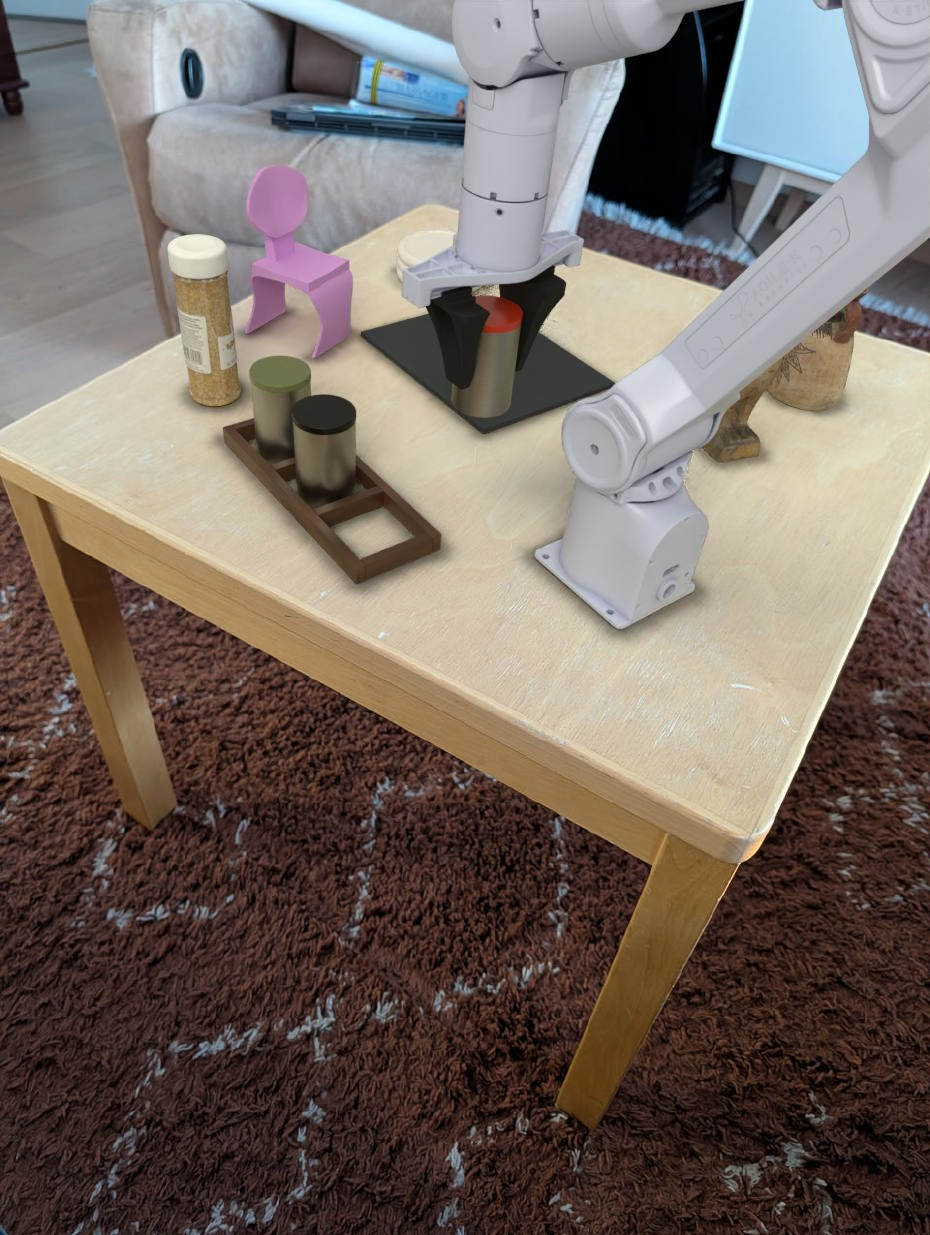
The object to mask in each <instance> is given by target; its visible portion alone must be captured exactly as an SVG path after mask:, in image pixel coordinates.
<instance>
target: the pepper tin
mask: <svg viewBox="0 0 930 1235" xmlns="http://www.w3.org/2000/svg"><path fill="white" fill-rule="evenodd" d="M292 420H293V430H294V448H295V465H296V478H295V480H296V493H297V494H298V495H299V496H300V497H301V498H302V499H303V500H304V501H305V502H306V504H307V505H308V506H309V507H310V508H311V509H312V510H313V509H316V508H318V507H321V506H324V505H327V504H329V503H332V502H335V501H338V500H340V499H343V498H346V497H349V496H351V495H354V494H357V480H356V455H357V437H356V436H357V435H356V434H357V409H356V407H355V405H354V403H353V402H351V401H350V400H349V399H346V398H345V397H342V396H340V395H336V394H330V393H329V394H328V393H327V394H326V393H320V394H319V393H318V394H313V395H312V394H311V396H308V397H305V398H302V399H301V400H299V401H298V402H296V403H295V404H294V406H293V408H292Z"/></svg>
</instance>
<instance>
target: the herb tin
mask: <svg viewBox="0 0 930 1235" xmlns="http://www.w3.org/2000/svg"><path fill="white" fill-rule="evenodd" d="M248 376H249V380H250V381H249V382H250V389H251V391H250V392H251V401H252V411H253V418H254V424H255V435H256V438H255V445H256V451H257V452H258V453H259V455H260V456H261V457H262V458H263V459H264V460H265V461H266V462H267V463H268V464H269V465H272V464H275V463H278V462H281V461H284V460H287V459H290V458H293V457H295V448H294V430H293V420H292V408H293V406H294V404H295V403H296V402H298V401H299V400H301V399H302V398H305V397H308V396H311V395H312V369H311V367H310V366H309V364H308V363H307V362H306V361H304V360H303V359H301V358H298V357H294V356H290V355H270V356H265V357H262V358H260V359H258V360H256V361H254V362H253V363H252V364H251V365H250V366H249V370H248Z"/></svg>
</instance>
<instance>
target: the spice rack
mask: <svg viewBox="0 0 930 1235" xmlns="http://www.w3.org/2000/svg"><path fill="white" fill-rule="evenodd" d="M222 436H223V441H224V444H225V445H226V446H227V447H228V448H229V449H230V450H231V451H232V452H233V453H234V455H235V456H237V457H238V459H239V460H240V461H241V462H242V463H243V464H244V465H245V466H246V467H247V468H248V469H249V470H250V472H252V474H253V475H254V476H255V477H256V478H257V479H258V480H259V481H260V483H261V484H262V485H263V486H264V487H265V488H266V489H267V490H268V491H269V492H270V493H271V494H272V495H273V496H274V497H275V498H276V500H277V501H278V502H279V503H280V504H281V505H282V506H283V508H285V510H287V511H288V512H289V513H290V514H291V516H292V517H293V518H294V519H295V520H296V521H297V522H298V523H299V524H300V525H301V526H302V528H304V530H306V532H307V533H308V534H309V535H310V536H311V537H312V538H313V540H315V542H317V543H318V544H319V546H320V547H321V548H322V549H323V550H324V551H325V552H326V553H327V554H328V555H329V556H330V557H331V558H332V560H333V561H334V562H335V563H336V564H337V565H338V566H339V567H340V569H342V570H343V571H344V573H345V574H346V575H347V576H348V577H349V578H350V579H351V580H352V582H354V583H355V584H356V585H358V584H361V583H363V582H365V581H368V580H370V579H373V578H376V577H377V576H380V575H382V574H385V573H386V572H387V573H388V572H389V571H392V570H394V569H396V568H400V567H401V566H404V565H406V564H409V563H411V562H413V561H416V560H418V559H421V558H423V557H425V556H428V555H430V554H432V553H434V552H437V551H439V550H441V547H442V546H441V545H442V533H441V532H440V531H438V529H437V528H435V527H434V526H433V524H431V523H430V522H429V521H428V520H427V519H426V518H425V517H424V516H423V515H422V514H421V513H419V511H417V510H416V508H414V507H413V506H412V505H411V503H409V502H408V501H407V500H405V498H403V497H402V496H401V495H400V494H399V493H398V492H397V491H396V490H395V489H393V487H392V486H391V485H389V484H388V483H387V482H386V481H385V480H384V479H383V478H382V477H380V475H379V474H378V473H376V472H375V471H374V470H373V469H372V468H371V467H370V466H369V464H367V463H366V462H365V461H363V459H362V458H361V457H359V456H358V455H357V454H356V482H358V483H359V484H360V485H361V486H362V487H363V488H364V489H365V490H363V491H360V492H356V494H354V495H351V496H349V497H346V498H343V499H340V500H338V501H335V502H332V503H329V504H327V505H324V506H321V507H318V508H316V509H312V508H310V507H309V506H308V505H307V504H306V502H305V501H304V500H303V499H302V498H301V497H300V496H299V495H298V494H297V491H295V490H294V488H292V486H290V485H289V483H288V482H289V481H292V480H296V465H295V457H293V458H290V459H287V460H284V461H281V462H278V463H275V464H272V465H269V464H268V463H267V462H266V461H265V460H264V459H263V458H262V457H261V456H260V455H259V453H258V452H257V449H255V448H254V447H253V446H252V445H251V444H250V442H249V441H252V440H256V435H255V424H254V417H252V418H249V419H246V420H242V421H238V422H235V423H232V424H229V425H225V426H223V427H222ZM381 507H384V508H385V509H386V510H387V511H388V512H389V513H390V514H391V515H392V516H393V517H394V518H395V519H396V520H397V521H398V522H400V524H402V526H404V528H406V529H407V530H408V531H409V532H410V533H411V534H412V535H413V536H414V537H411V538H409V539H406V540H404V541H402V542H401V541H400V542H399V543H396V544H394V545H392V546H391V545H390V546H389V547H386V548H384V549H381V550H379V551H377V552H374V553H371V554H368V555H367V556H364V557H362V558H359V556H358V555H357V554H356V553H355V552H353V550H352V549H351V548H350V547H349V546H348V544H346V543H345V541H343V540H342V539H341V537H340V536H338V535H337V534H336V533H335V531H334V530H332V528H331V527H332V526H335V525H337V524H340V523H342V522H345V521H347V520H350V519H353V518H356V517H359V516H361V515H363V514H365V513H370V512H371V511H374V510H376V509H379V508H381Z"/></svg>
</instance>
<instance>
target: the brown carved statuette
mask: <svg viewBox="0 0 930 1235" xmlns="http://www.w3.org/2000/svg"><path fill="white" fill-rule="evenodd" d="M782 359H783V357H782V358H781V359H779V360H778V361H777V362H776V363H774V364H773V365H772V366H771V367H769V368H768V369H767V370H766V371H765V372H763V373H762V374H761V375H760V376H758V377H757V378H756V379H755V380H753V381H752V382H751V383H750V384H749V385H747V386H746V387H745V388H744V389H742V390H741V391H740V399H739V400H738V401H737V402H735V403H734V404H733V405H732V406H731V407H730V408H729V409H727V411H726V412H725V413H724V415H723V417H722V419H721V422H720V425H719V427H718V430H717V432H716V434H715V435H714V437H713V438H712V439H711V440H710V441H709V442H708V443H707V444H706V445H704V446H702V447H701V448H703V450H704V451H705V452H707V454H709V456H710V457H711V458H713V459H714V460H715V461H716V462H718V463H724V462H730V461H736V460H744V459H747V458H750V459H751V458H756V457H759V455H760V449H761V439H760V437H759V436H758V434H757V433H756V432H755V431H754V430H752V428H750V426H749V425H748V421H749V418H750V416H751V414H752V412H753V410H754V408H755V407H756V405H757V403H758V402H760V401H759V400H760V399H761V398H762V396H763V395H764V393H765V392H766V391H767V388H768V386H769V385H770V383H771V382H772V381H773V380H774V378H775V376H776V374H777V372H778V370H779V367H780V364H781V362H782Z"/></svg>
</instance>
